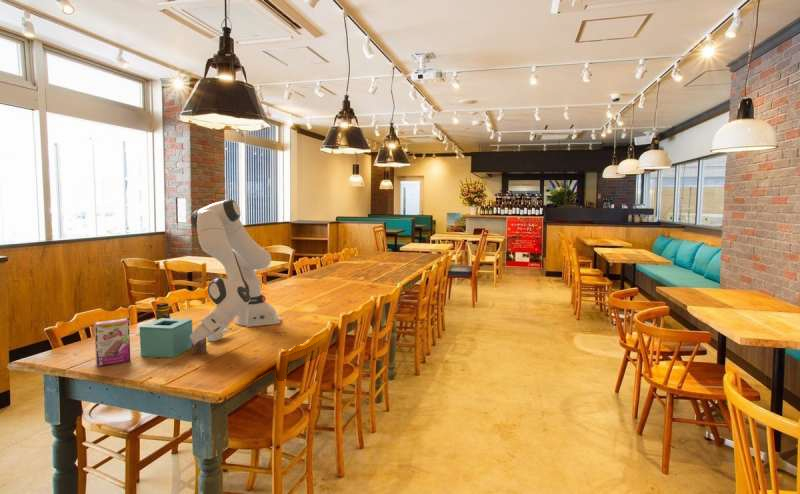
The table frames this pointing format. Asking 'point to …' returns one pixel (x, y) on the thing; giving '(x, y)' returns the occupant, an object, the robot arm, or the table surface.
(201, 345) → the walnut block
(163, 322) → the teal coin box
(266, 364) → the table surface
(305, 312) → the table surface
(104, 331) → the candy bar box
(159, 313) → the condiment
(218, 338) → the power adapter
